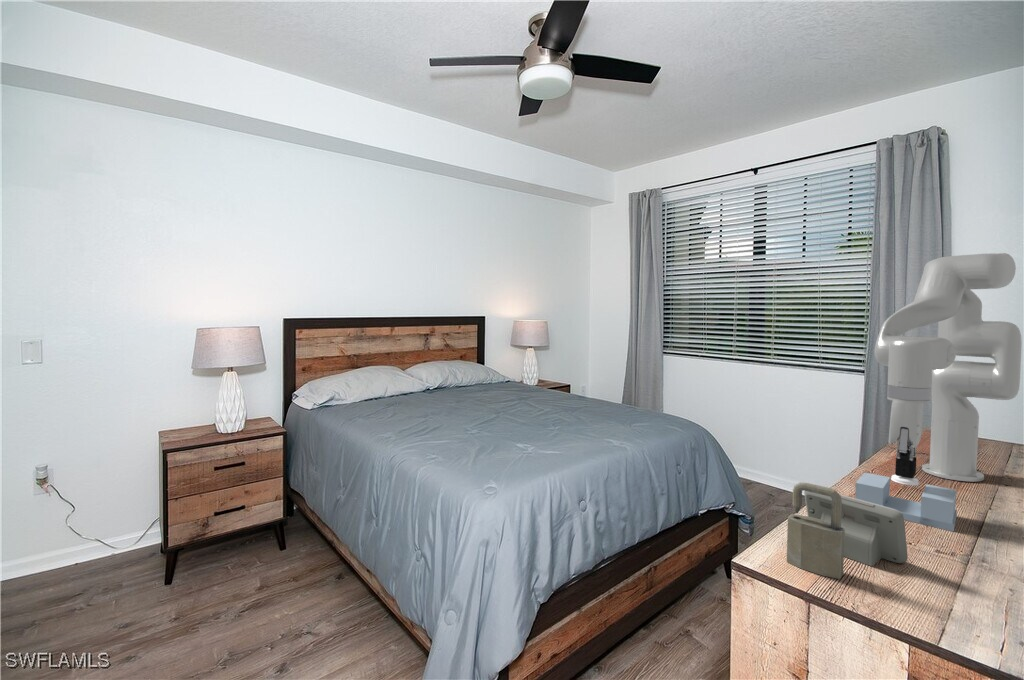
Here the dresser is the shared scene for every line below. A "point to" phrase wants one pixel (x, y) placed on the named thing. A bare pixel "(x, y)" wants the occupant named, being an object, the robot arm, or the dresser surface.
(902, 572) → the dresser surface
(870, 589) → the dresser surface
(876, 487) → the slot block
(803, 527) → the padlock
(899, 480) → the chess piece
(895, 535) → the digital clock
